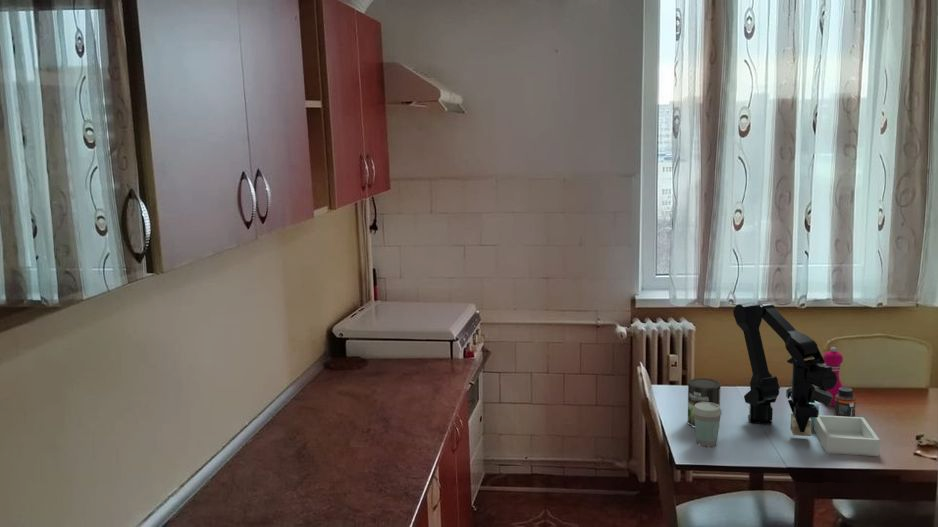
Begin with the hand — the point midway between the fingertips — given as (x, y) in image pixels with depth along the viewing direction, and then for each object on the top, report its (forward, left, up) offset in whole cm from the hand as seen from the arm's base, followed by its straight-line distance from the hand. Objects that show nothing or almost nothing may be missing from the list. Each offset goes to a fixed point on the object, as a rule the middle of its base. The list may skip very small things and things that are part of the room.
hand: (800, 428), depth 227 cm
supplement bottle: (+16, +16, -4) cm, 23 cm away
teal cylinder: (+5, +12, -3) cm, 13 cm away
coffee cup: (-28, -8, -4) cm, 29 cm away
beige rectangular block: (0, 0, -1) cm, 1 cm away
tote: (+12, -1, -3) cm, 13 cm away
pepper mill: (+16, +35, -4) cm, 39 cm away
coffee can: (-28, +8, -4) cm, 29 cm away
